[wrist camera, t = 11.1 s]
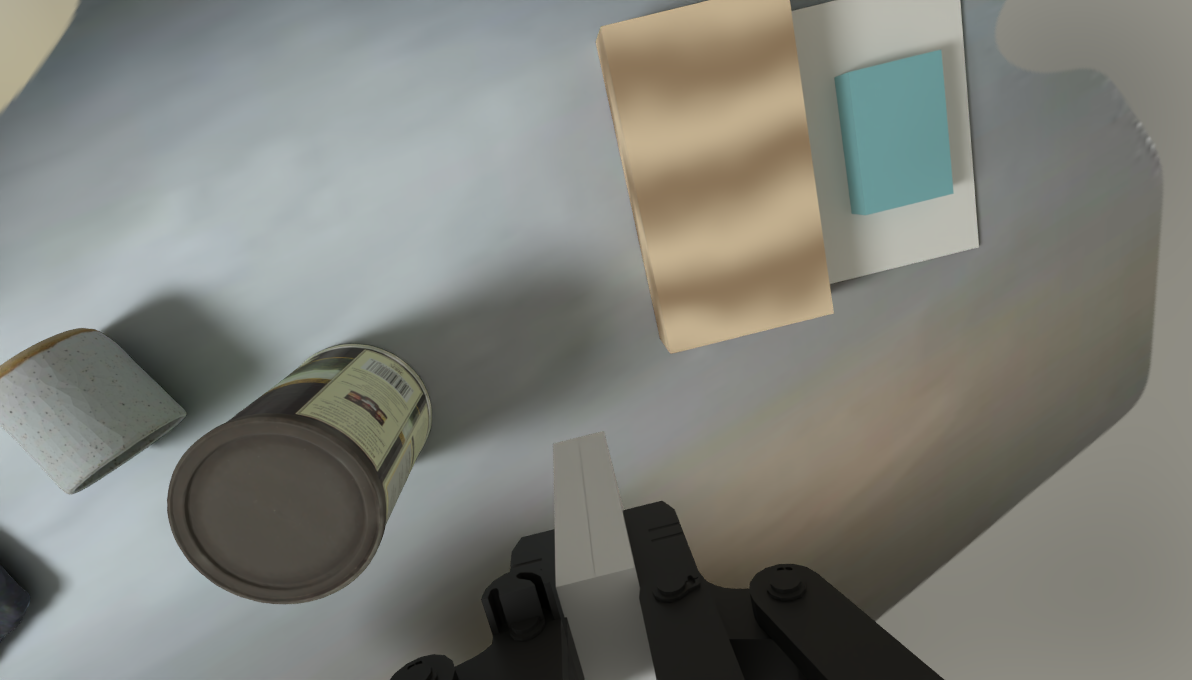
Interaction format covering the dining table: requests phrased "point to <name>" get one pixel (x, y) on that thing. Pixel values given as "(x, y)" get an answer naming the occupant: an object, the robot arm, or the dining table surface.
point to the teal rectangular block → (895, 133)
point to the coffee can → (302, 477)
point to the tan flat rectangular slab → (718, 168)
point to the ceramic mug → (82, 406)
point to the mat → (826, 50)
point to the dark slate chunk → (11, 603)
